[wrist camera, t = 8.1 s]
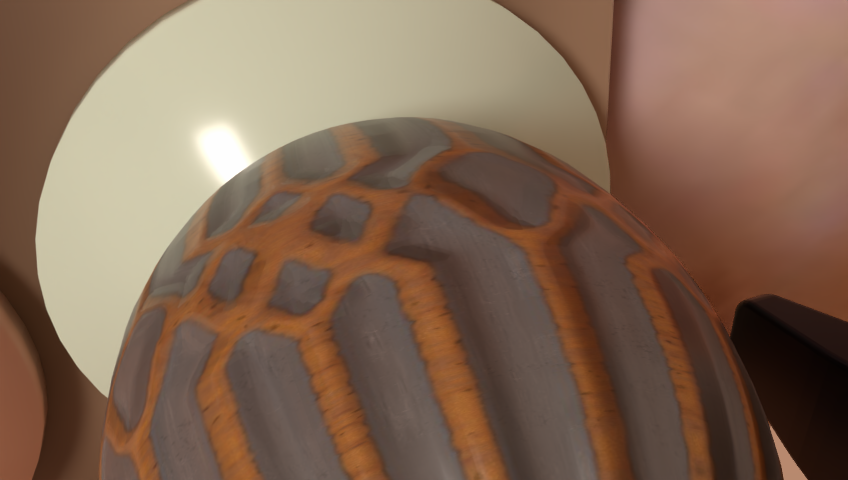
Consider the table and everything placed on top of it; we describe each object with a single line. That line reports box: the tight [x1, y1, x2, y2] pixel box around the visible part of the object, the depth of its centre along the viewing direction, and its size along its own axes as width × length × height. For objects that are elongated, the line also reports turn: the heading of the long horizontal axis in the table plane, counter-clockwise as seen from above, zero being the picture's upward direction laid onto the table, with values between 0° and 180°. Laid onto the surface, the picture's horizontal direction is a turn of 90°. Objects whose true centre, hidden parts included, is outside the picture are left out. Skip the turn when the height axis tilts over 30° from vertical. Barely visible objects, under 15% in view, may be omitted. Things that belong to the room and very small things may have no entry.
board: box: [0, 0, 614, 480], centre depth 11 cm, size 19×12×1 cm, turn 97°
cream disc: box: [35, 0, 610, 398], centre depth 11 cm, size 9×9×1 cm
